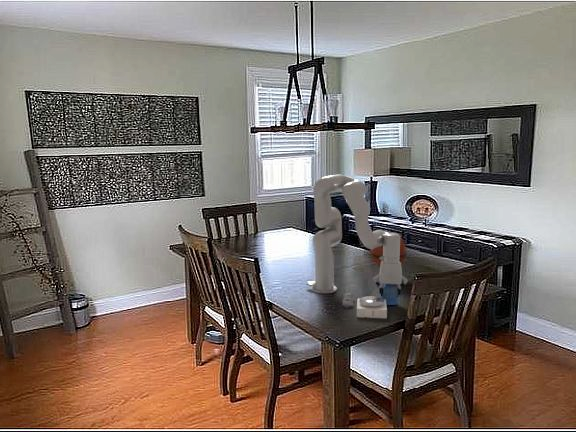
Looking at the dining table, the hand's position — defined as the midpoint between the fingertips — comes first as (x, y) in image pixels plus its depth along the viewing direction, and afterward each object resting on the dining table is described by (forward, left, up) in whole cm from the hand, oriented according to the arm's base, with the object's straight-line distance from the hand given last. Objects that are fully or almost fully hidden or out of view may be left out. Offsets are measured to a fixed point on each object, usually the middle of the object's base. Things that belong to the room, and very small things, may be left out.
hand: (389, 295), depth 222 cm
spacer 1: (-19, +3, -4) cm, 20 cm away
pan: (-8, -11, +1) cm, 14 cm away
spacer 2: (-19, -4, -4) cm, 20 cm away
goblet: (+1, +39, -4) cm, 39 cm away
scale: (-8, -11, -4) cm, 15 cm away
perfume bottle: (0, 0, -4) cm, 4 cm away
